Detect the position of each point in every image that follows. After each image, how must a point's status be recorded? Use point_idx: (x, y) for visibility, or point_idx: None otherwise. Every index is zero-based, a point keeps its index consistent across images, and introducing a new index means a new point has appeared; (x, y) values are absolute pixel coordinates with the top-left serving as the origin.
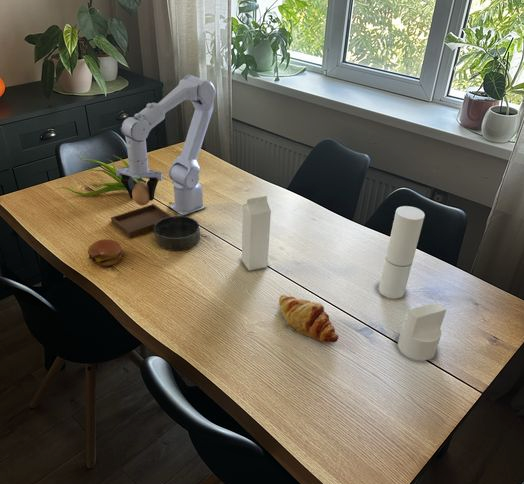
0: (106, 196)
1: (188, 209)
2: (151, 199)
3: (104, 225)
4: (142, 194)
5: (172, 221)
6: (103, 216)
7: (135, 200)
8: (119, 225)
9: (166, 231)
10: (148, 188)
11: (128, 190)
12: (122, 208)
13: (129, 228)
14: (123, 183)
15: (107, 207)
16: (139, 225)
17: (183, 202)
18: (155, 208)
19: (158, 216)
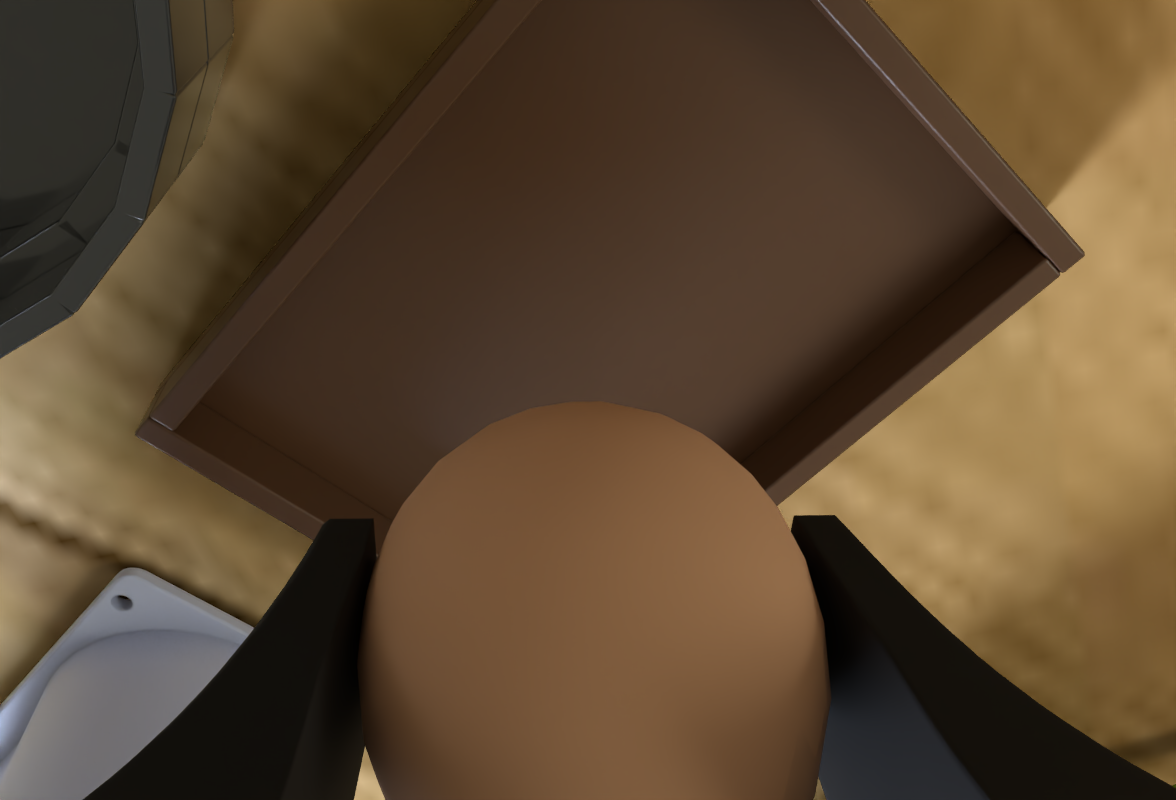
0: (1158, 734)
1: (73, 672)
2: (323, 534)
3: (1140, 127)
4: (495, 560)
5: (28, 289)
6: (1168, 354)
7: (691, 434)
8: (912, 56)
9: (114, 107)
10: (288, 758)
11: (926, 642)
12: (945, 566)
13: (738, 72)
14: (1157, 798)
15: (1131, 551)
16: (606, 193)
17: (90, 745)
18: None
19: (419, 473)
